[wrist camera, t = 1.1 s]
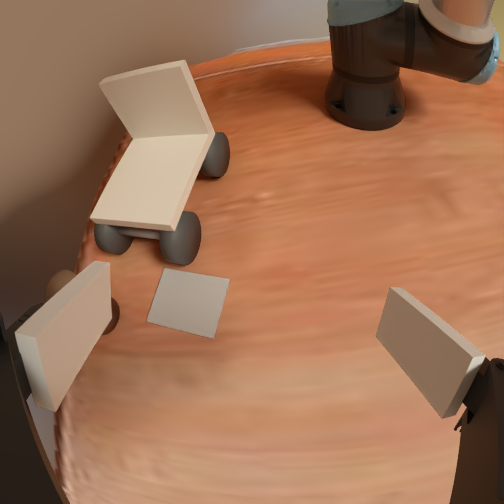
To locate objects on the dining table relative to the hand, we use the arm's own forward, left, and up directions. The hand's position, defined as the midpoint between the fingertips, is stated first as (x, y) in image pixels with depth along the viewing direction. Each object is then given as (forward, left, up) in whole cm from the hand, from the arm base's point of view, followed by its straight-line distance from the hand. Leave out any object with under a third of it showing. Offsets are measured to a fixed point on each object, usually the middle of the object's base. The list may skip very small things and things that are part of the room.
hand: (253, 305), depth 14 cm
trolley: (-20, -24, -24) cm, 39 cm away
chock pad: (-5, -16, -24) cm, 29 cm away
